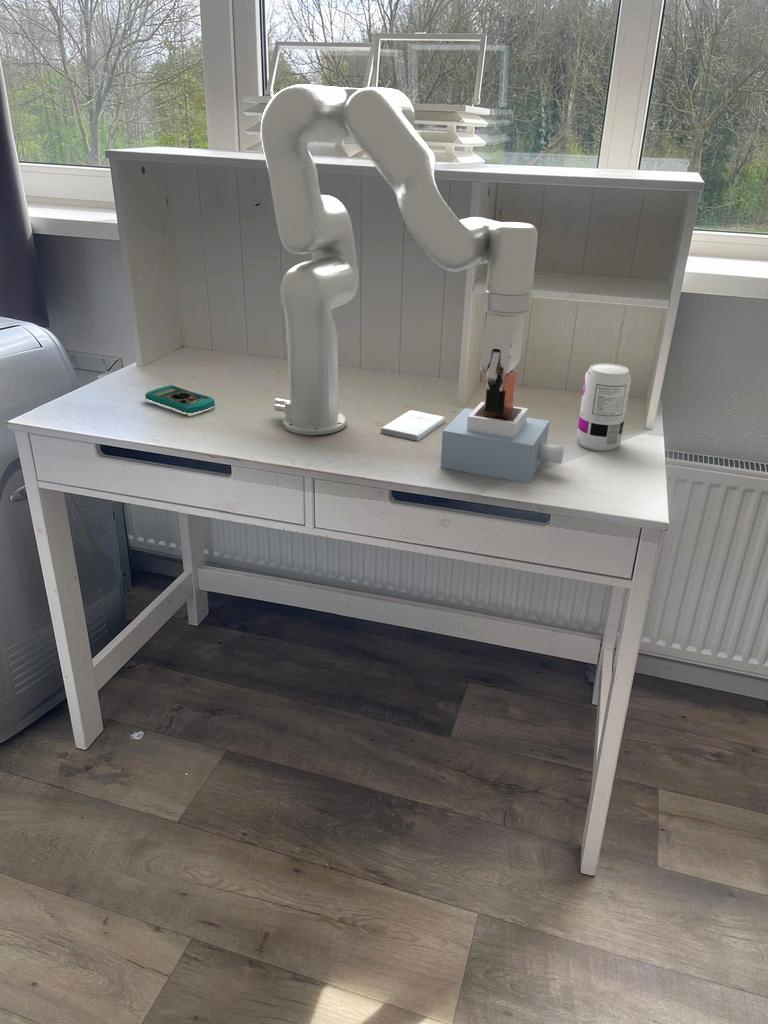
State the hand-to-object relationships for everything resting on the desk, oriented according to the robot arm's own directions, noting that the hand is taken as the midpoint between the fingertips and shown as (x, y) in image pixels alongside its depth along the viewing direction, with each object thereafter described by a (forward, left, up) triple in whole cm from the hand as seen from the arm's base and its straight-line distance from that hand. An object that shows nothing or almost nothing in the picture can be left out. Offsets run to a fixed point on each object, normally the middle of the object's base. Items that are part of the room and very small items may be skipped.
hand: (498, 406), depth 137 cm
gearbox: (+2, 0, -11) cm, 11 cm away
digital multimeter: (-69, +2, -11) cm, 70 cm away
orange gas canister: (0, 0, -2) cm, 2 cm away
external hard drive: (-20, +10, -11) cm, 25 cm away
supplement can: (+16, +17, -11) cm, 26 cm away
